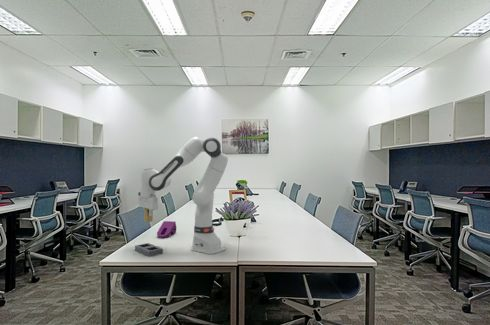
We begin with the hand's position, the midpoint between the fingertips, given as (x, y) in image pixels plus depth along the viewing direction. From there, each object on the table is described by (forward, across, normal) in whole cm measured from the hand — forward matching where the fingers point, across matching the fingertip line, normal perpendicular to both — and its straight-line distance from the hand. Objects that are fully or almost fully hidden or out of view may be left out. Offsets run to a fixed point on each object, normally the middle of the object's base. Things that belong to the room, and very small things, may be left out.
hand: (148, 215), depth 197 cm
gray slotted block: (+21, -8, +3) cm, 23 cm away
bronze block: (+4, 0, 0) cm, 4 cm away
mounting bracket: (+22, +23, -26) cm, 41 cm away
